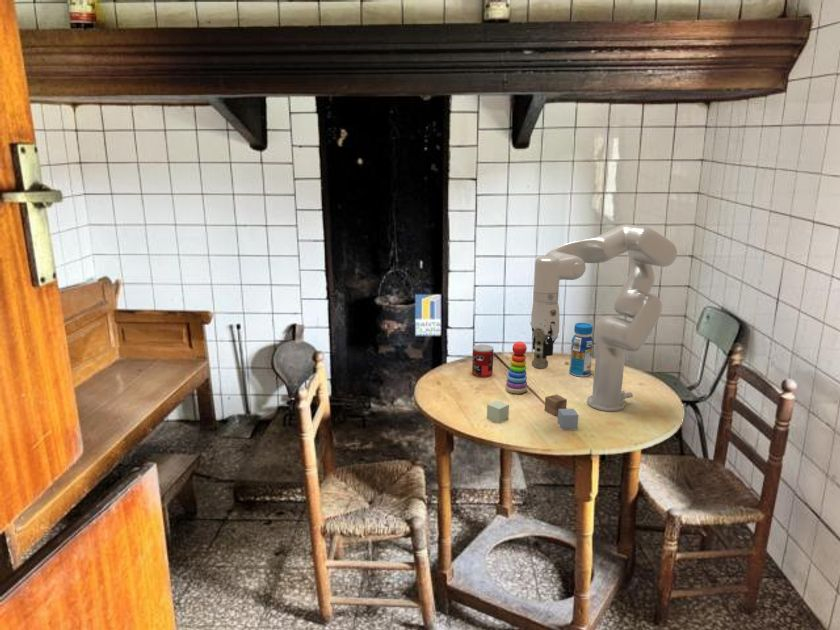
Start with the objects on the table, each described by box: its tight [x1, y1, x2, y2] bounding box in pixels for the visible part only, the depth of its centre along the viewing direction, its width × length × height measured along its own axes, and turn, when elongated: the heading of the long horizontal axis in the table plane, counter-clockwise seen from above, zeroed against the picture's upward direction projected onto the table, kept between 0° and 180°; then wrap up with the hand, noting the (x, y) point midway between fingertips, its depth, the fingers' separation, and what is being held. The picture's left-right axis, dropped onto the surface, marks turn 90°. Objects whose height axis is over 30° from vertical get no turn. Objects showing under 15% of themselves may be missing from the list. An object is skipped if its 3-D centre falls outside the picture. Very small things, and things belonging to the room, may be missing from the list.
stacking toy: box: [504, 341, 528, 395], centre depth 231 cm, size 8×8×19 cm
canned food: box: [471, 344, 494, 378], centre depth 248 cm, size 8×8×11 cm
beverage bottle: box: [568, 322, 594, 378], centre depth 248 cm, size 8×8×20 cm
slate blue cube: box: [557, 408, 579, 430], centre depth 204 cm, size 5×5×5 cm
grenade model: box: [531, 324, 552, 370], centre depth 200 cm, size 6×7×15 cm
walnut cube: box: [544, 394, 568, 416], centre depth 215 cm, size 5×5×5 cm
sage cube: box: [486, 400, 510, 424], centre depth 209 cm, size 5×5×5 cm
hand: (542, 351), depth 201 cm, fingers closed on grenade model, 5 cm apart
